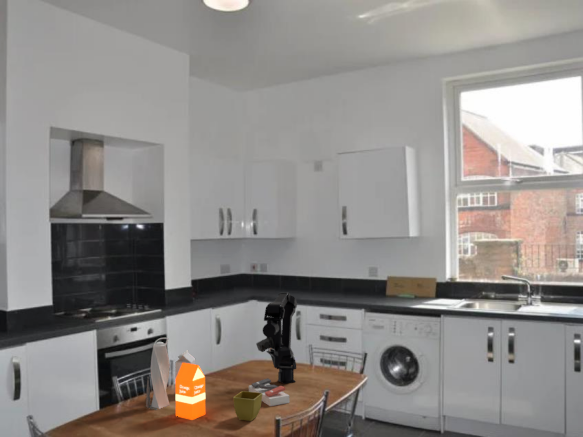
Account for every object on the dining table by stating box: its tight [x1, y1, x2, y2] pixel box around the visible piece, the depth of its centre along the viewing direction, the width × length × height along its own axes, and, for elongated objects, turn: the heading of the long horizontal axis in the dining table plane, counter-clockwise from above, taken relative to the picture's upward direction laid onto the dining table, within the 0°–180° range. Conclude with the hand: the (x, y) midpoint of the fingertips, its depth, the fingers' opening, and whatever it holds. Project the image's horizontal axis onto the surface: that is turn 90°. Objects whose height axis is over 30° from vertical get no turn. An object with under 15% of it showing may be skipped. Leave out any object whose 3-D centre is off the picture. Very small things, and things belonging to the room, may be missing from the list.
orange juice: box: [175, 363, 207, 421], centre depth 208 cm, size 8×9×20 cm
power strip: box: [248, 383, 290, 407], centre depth 231 cm, size 9×28×3 cm, turn 28°
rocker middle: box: [258, 384, 279, 389], centre depth 229 cm, size 8×4×1 cm, turn 118°
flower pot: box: [232, 390, 263, 422], centre depth 203 cm, size 9×9×9 cm
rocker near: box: [251, 378, 272, 388], centre depth 235 cm, size 8×4×1 cm, turn 118°
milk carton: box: [174, 349, 197, 389], centre depth 235 cm, size 7×7×19 cm
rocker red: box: [265, 385, 287, 397], centre depth 223 cm, size 8×4×1 cm, turn 118°
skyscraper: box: [145, 337, 170, 411], centre depth 219 cm, size 8×8×28 cm
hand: (275, 367), depth 234 cm, fingers closed
